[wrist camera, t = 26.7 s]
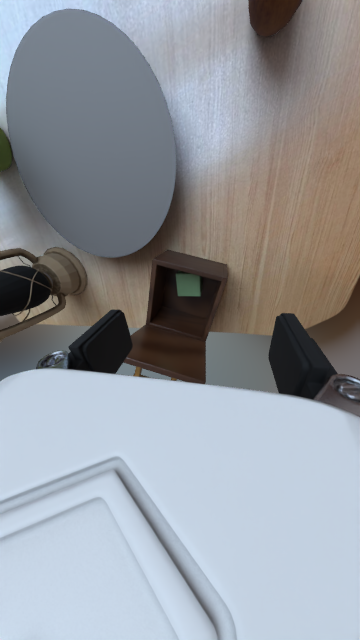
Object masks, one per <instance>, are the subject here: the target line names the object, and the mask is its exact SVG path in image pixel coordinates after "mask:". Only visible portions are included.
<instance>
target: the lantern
mask: <svg viewBox="0 0 360 640" xmlns="http://www.w3.org/2000/svg"><path fill="white" fill-rule="evenodd" d="M14 256H18V257H19V256H23V257H25V258H27V259H28V260H30V261H31V262H32V263H33V265H32V268H31V266H30V265H29V266H30V267H28V266H15V267H10V268H7V269H4V270H0V316H3V315H7V314H11V313H12V314H13V313H16V312H20V311H21V312H20V313H19V314H21V313H22V312H23V311H24V310H27V309H29V313H30V309H31V308H34V307H36V306H38V305H40V304H42V303H43V302H45V301H46V300H47V299H48V298H49V295H50V294H51V295H52V299H53V295H54V296H57V297H58V301H59V303H58V305H56V304H55V303H54V302H53V303H54V304H55V305H56V306H55V307H53V308H51V309H49V310H47V311H45V312H43V313H41V314H39V315H37V316H34V317H32V318H30V319H27V320H25V319H26V318H27V317H28V315H29V313H28V314H27V316H26V317H25V319H24V320H25V321H24V320H23V321H22V322H20V323H18V324H16V325H13V326H10V327H8V328H5V329H2V330H0V342H1V341H2V339H4V338H5V337H7V336H10V335H12V334H15V333H17V332H19V331H22V330H24V329H26V328H28V327H30V326H33V325H35V324H37V323H39V322H41V321H43V320H45V319H47V318H49V317H51V316H53V315H54V314H56V313H58V312H60V311H61V310H62V309H64V308H65V305H66V300H65V296H67V295H69V294H70V295H77V294H80V293H82V292H83V291H84V290H85V288H86V286H87V275H86V272H85V269H84V267H83V266H82V264H81V263H80V261H79V260H78V259H77V258H76V257H75V256H74V255H73V254H72V253H71V252H69V251H67V250H65V249H64V248H58V247H53V248H50V249H48V250H47V251H46V252H45V253H44V255H43V256H39V257H37V258H36V257H35V256H34V255H33V254H31V253H30V252H28V251H26V250H24V249H21V248H16V249H9V250H4V251H0V260H2V259H6V258H10V257H14ZM19 259H20V258H19ZM20 260H21V259H20ZM21 261H22V260H21ZM22 262H23V261H22ZM23 264H25V263H23ZM26 265H28V264H26ZM52 301H53V300H52ZM19 314H17V315H19ZM13 315H14V314H13ZM17 315H15V316H17Z"/></svg>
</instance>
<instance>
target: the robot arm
mask: <svg viewBox="0 0 360 640" xmlns="http://www.w3.org/2000/svg"><path fill="white" fill-rule="evenodd" d="M132 348H133V343H132V340H131V336H130V333H129V329H128V326H127V322H126V318H125V315H124V313H123V312H122V311H121V310H110V311H109V312H108V313H107V314H106V315H105V316H104V317H102V318H101V319H100V320H99V321H98V322H97V323H95V324H94V325H93V326H92V327H91V328H90V329H89V330H87V331H86V332H85V333H84V334H83V335H82V336H81V337H79V338H78V339H77V340H76V341H75V342H73V343H72V344H71V345H70V346H69V349H70V351H71V352H70V353H69V354H68V352H67V351H63V350H62V351H56V352H53V353H50V354H48V355H46V356H45V357H43V358H42V359H41V360H40V361H39V362H38V364H37V367H36V369H35V370H30V371H25V372H21V373H18V374H14V375H12V376H9V377H7V378H5V379H3V380H2V381H0V640H360V379H358V378H355V377H353V376H349V375H344V374H337V372H336V371H335V369H334V368H333V366H332V365H331V363H330V362H329V361H328V359H327V358H326V356H325V355H324V354H323V352H322V351H321V349H320V348H319V346H318V345H317V343H316V342H315V341H314V340H313V339H312V338H310V337H309V335H308V334H307V332H306V331H305V329H304V328H303V326H302V325H301V323H300V322H299V320H298V319H297V317H296V316H295V315H294V314H291V313H282V314H281V315H280V316H277V317H276V321H275V326H274V331H273V336H272V340H271V345H270V350H269V361H270V365H271V368H272V371H273V375H274V378H275V381H276V385H277V388H278V391H279V393H273V392H266V391H259V390H250V389H241V388H233V387H224V386H216V385H207V384H199V383H191V382H182V381H173V380H164V379H156V378H147V377H138V376H129V375H120V374H115V373H116V372H117V370H118V369H119V367H120V366H121V364H122V363H123V362H124V360H125V359H126V357H127V356H128V354H129V353H130V351H131V350H132Z"/></svg>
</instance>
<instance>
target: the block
mask: <svg viewBox="0 0 360 640" xmlns="http://www.w3.org/2000/svg"><path fill="white" fill-rule="evenodd" d="M176 282H177V292H178V296H201V292H202V289H203V278H202V276H198V275H195V274H191V273H187V272H183V271H178V272H177V273H176Z"/></svg>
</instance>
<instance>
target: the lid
mask: <svg viewBox="0 0 360 640" xmlns="http://www.w3.org/2000/svg"><path fill="white" fill-rule="evenodd" d="M131 340H132V343H133V348H132V350H131V351H130V353H129V354H128V356H127V357H126V359H125V360H124V363H127V364H130V365H133V366H136V370H135V374H134V375H133V376H138V377H147V376H143V375H141V371H142V368H143V369H146V370H150V371H153V372H156V373H160V374H162V375H166V376H169V377H172V378H171V380H173V381H176V380H177V379H179V380H182V381H185V382H191V383H199V384H205V382H206V375H205V374H206V371H205V370H206V368H205V367H206V363H205V362H206V356H205V354H206V353H205V352H206V348H205V347H206V345H205V344H206V342H204V341H200V340H197V339H193V338H190V337H186V336H183V335H179V334H176V333H172V332H169V331H165V330H162V329H159V328H155V327H152V326H148V325H145V326H143V327H142V328H140V329H139V330H138V331H136V332H135V333H134V334H132V335H131ZM147 378H149V377H147Z"/></svg>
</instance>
